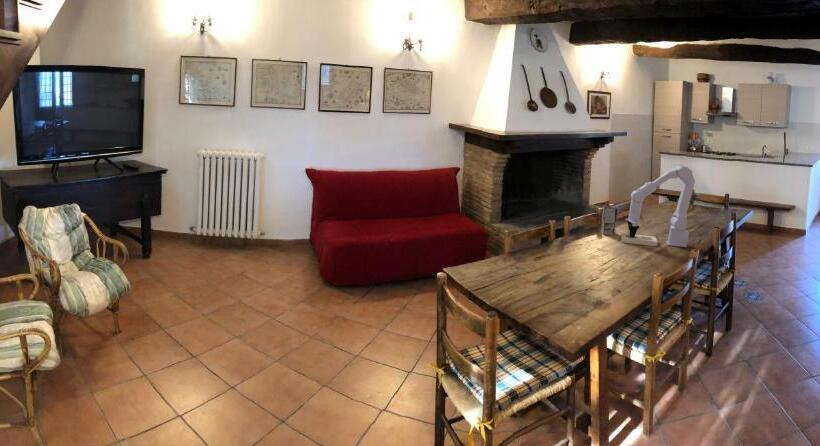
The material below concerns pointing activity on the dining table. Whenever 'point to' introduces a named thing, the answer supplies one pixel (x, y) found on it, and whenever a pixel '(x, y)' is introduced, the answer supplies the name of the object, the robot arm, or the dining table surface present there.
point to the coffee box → (608, 220)
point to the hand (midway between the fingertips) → (631, 235)
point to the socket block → (639, 240)
